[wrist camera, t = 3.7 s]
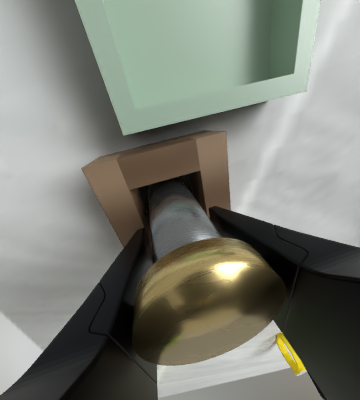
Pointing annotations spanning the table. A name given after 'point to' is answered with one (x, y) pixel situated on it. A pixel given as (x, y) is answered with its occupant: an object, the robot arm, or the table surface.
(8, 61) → the table surface
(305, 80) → the tray
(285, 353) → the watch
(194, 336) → the pin
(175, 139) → the socket block
